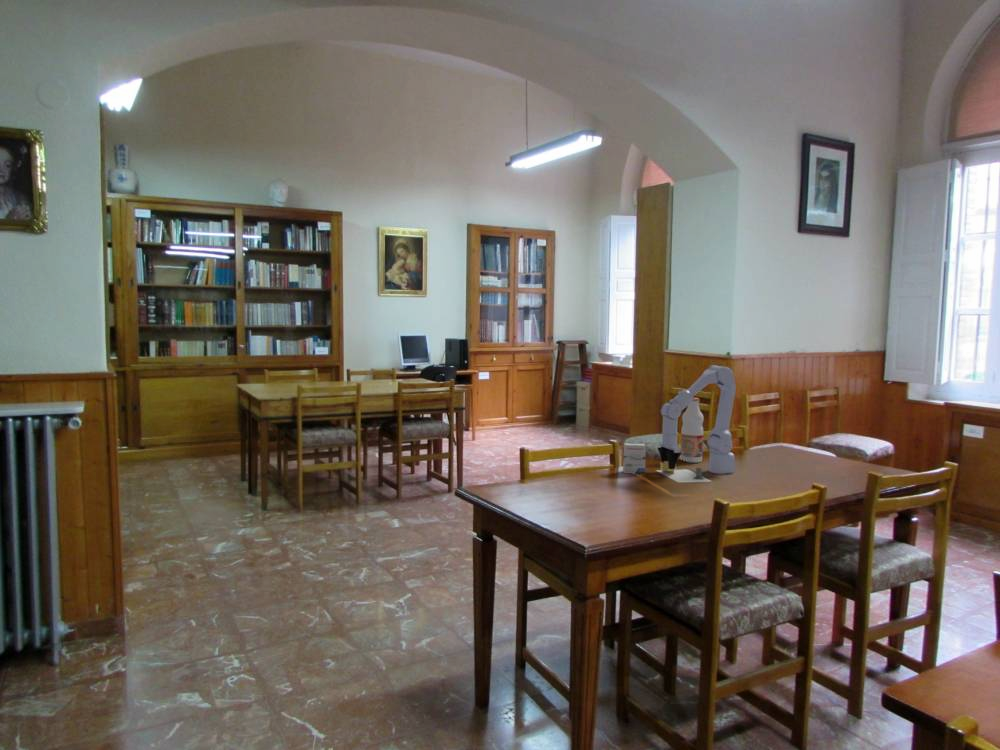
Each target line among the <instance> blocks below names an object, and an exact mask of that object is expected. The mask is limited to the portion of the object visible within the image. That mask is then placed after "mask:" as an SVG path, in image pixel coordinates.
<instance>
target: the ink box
mask: <svg viewBox="0 0 1000 750" xmlns="http://www.w3.org/2000/svg"><path fill="white" fill-rule="evenodd" d="M646 453H647V446H646V444H645V443H628V442H627V443H625V442H624V443H623V461H622V463H623V464H622V471H623V472H622V473H623V474H624V473H634V474H633V475H640V473H646V461H647V460H646V459H647V456H646V455H647V454H646ZM635 473H636V474H635Z"/></svg>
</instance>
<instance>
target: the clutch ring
mask: <svg viewBox="0 0 1000 750" xmlns="http://www.w3.org/2000/svg"><path fill="white" fill-rule="evenodd" d="M667 462H668V461H661V460H660V465H659V467H660V470H663V471H675V470H677V465H676V466H675V469H669V465H668V463H667Z"/></svg>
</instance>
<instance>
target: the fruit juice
mask: <svg viewBox="0 0 1000 750" xmlns="http://www.w3.org/2000/svg"><path fill="white" fill-rule="evenodd" d="M699 403H700V398H699V397H693V401H692V402H691V403H690V404H689V405H687V406H686V409H685V411H684V412H683V413H682V417H681V419H682V426H681V432H680V452H681V455H680V456H679V459H680V461H682V460H683V461H682V462H685V461H686V462H685V463H701V462H702V461H703V448H704V447H703V446H704V445H703V444H704V427H703V423H704V414H703V413H702V411H701V409H700V406H699Z"/></svg>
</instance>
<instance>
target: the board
mask: <svg viewBox="0 0 1000 750" xmlns="http://www.w3.org/2000/svg"><path fill="white" fill-rule="evenodd" d="M695 469H696V471H695V472H693V471H692V470H689V469H687V468H686V469H676V470H675V471H674V474H663V473H662V471H663V470H661V469H660V470H659V469H656V470H655V472H658V473H660V474H662V475H663V476H665V477H667V478H669V479H671V480H673V481H674V482H677V483H706V482H713V481H712V480H710V479H708V478H707V477H704V476H702V475H703V474H702V473H703V472H702V469H703V468H702V467H696V468H695Z"/></svg>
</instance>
